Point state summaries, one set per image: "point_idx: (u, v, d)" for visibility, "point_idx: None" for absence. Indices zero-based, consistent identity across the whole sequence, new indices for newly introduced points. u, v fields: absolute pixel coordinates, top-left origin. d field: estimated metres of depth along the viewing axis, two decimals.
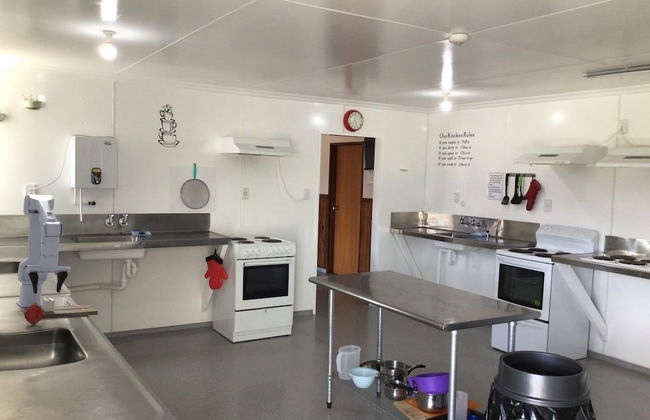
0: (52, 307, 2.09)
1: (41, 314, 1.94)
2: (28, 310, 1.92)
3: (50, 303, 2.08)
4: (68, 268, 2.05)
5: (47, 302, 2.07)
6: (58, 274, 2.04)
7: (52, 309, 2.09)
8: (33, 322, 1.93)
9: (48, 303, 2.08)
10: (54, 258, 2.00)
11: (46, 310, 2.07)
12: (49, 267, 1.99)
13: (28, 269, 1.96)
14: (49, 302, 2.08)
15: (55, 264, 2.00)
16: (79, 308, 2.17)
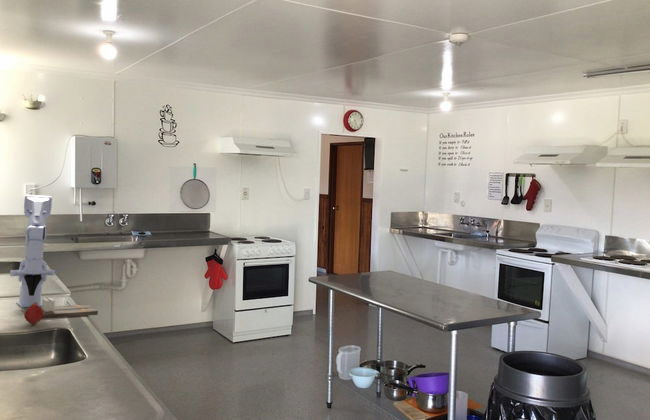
0: (52, 307, 2.09)
1: (41, 314, 1.94)
2: (28, 310, 1.92)
3: (50, 303, 2.08)
4: (52, 271, 2.09)
5: (47, 302, 2.07)
6: (32, 277, 2.06)
7: (52, 309, 2.09)
8: (33, 322, 1.93)
9: (48, 303, 2.08)
10: (38, 261, 2.04)
11: (46, 310, 2.07)
12: (33, 270, 2.03)
13: (12, 272, 2.00)
14: (49, 302, 2.08)
15: (39, 267, 2.05)
16: (79, 308, 2.17)
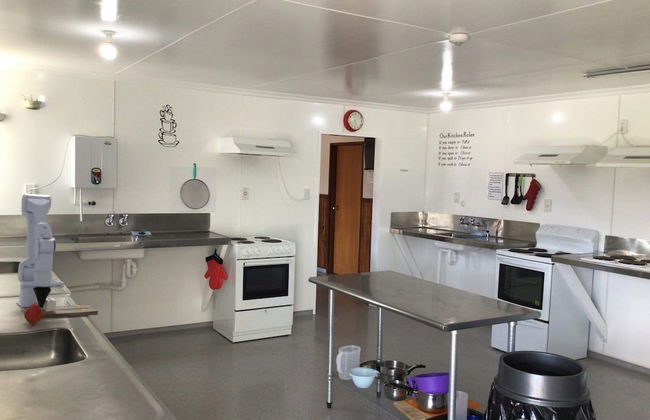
0: (53, 307, 2.09)
1: (41, 314, 1.94)
2: (28, 310, 1.92)
3: (51, 303, 2.08)
4: (61, 283, 2.11)
5: (48, 302, 2.08)
6: (41, 289, 2.09)
7: (53, 309, 2.09)
8: (33, 322, 1.93)
9: (49, 303, 2.08)
10: (48, 274, 2.07)
11: (47, 310, 2.08)
12: (43, 282, 2.06)
13: (22, 285, 2.03)
14: (50, 302, 2.08)
15: (49, 279, 2.07)
16: (79, 308, 2.17)
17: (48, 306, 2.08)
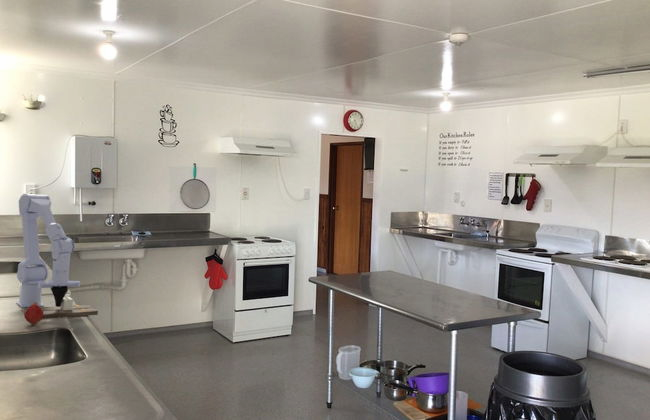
0: (70, 306, 2.13)
1: (41, 314, 1.94)
2: (28, 310, 1.92)
3: (68, 302, 2.12)
4: (78, 283, 2.15)
5: (66, 301, 2.12)
6: None
7: (70, 308, 2.13)
8: (33, 322, 1.93)
9: (66, 302, 2.12)
10: (65, 273, 2.10)
11: (65, 309, 2.12)
12: (60, 282, 2.10)
13: (40, 284, 2.07)
14: (67, 301, 2.12)
15: (66, 279, 2.11)
16: (79, 308, 2.17)
17: (65, 305, 2.12)
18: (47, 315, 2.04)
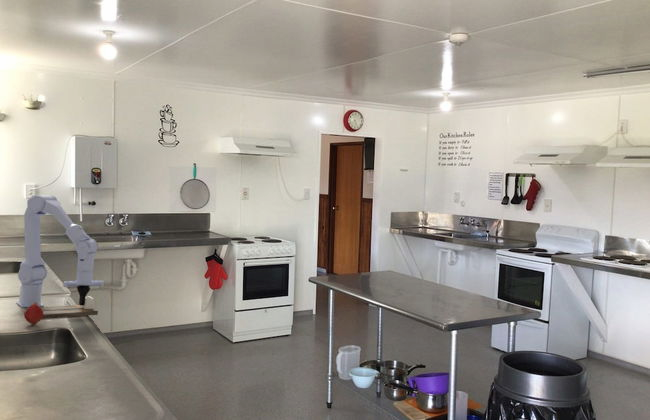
0: (91, 305, 2.18)
1: (41, 314, 1.94)
2: (28, 310, 1.92)
3: (90, 301, 2.17)
4: (101, 282, 2.21)
5: (87, 300, 2.17)
6: None
7: (91, 307, 2.18)
8: (33, 322, 1.93)
9: (88, 301, 2.17)
10: (89, 273, 2.16)
11: (86, 308, 2.17)
12: (85, 281, 2.15)
13: (66, 283, 2.13)
14: (89, 300, 2.17)
15: (90, 278, 2.17)
16: (79, 308, 2.17)
17: (87, 304, 2.17)
18: (47, 315, 2.04)
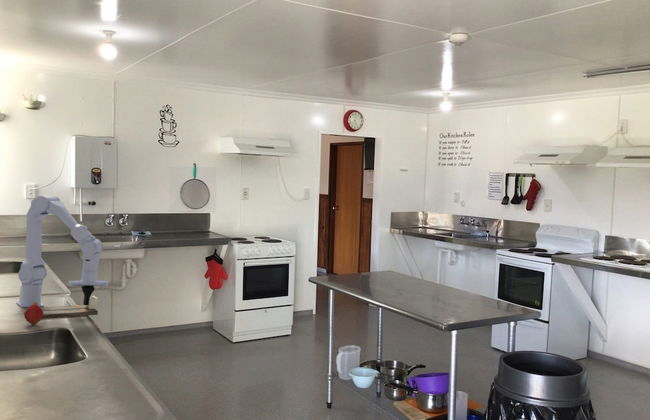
0: (95, 305, 2.19)
1: (41, 314, 1.94)
2: (28, 310, 1.92)
3: (94, 301, 2.18)
4: (106, 282, 2.22)
5: (91, 300, 2.18)
6: None
7: (96, 306, 2.19)
8: (33, 322, 1.93)
9: (92, 301, 2.18)
10: (94, 273, 2.17)
11: (90, 307, 2.18)
12: (90, 281, 2.16)
13: (71, 283, 2.14)
14: (93, 300, 2.18)
15: (95, 278, 2.18)
16: (79, 308, 2.17)
17: (91, 304, 2.18)
18: (47, 315, 2.04)
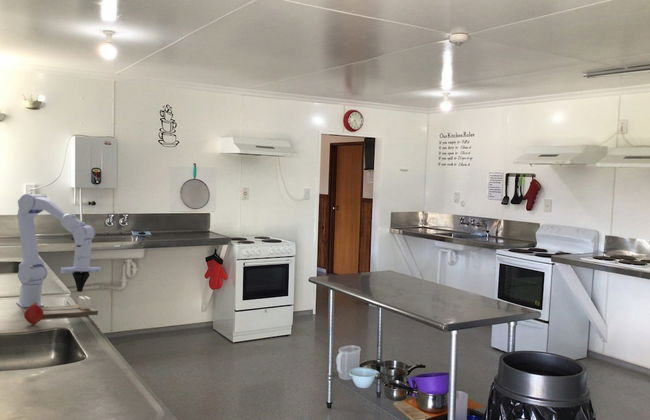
0: (88, 305, 2.17)
1: (41, 314, 1.94)
2: (28, 310, 1.92)
3: (86, 301, 2.17)
4: (99, 268, 2.20)
5: (84, 300, 2.16)
6: (80, 274, 2.17)
7: (88, 307, 2.17)
8: (33, 322, 1.93)
9: (84, 301, 2.16)
10: (86, 259, 2.15)
11: (83, 308, 2.16)
12: (82, 267, 2.14)
13: (63, 269, 2.11)
14: (85, 300, 2.16)
15: (87, 265, 2.16)
16: (79, 308, 2.17)
17: (83, 304, 2.16)
18: (47, 315, 2.04)
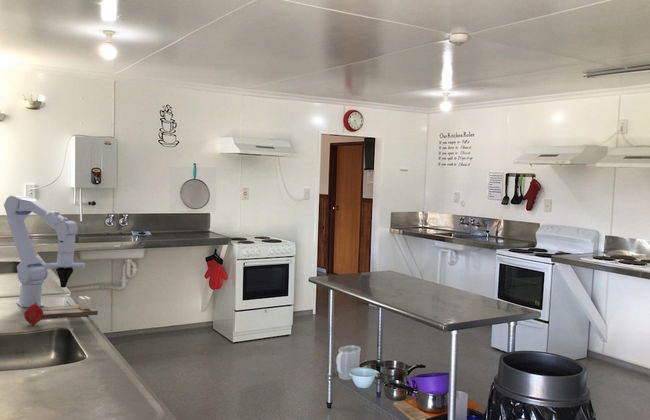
0: (88, 305, 2.17)
1: (41, 314, 1.94)
2: (28, 310, 1.92)
3: (86, 301, 2.17)
4: (83, 264, 2.20)
5: (84, 300, 2.16)
6: None
7: (88, 307, 2.17)
8: (33, 322, 1.93)
9: (84, 301, 2.16)
10: (70, 255, 2.15)
11: (83, 308, 2.16)
12: (65, 263, 2.14)
13: (46, 265, 2.11)
14: (85, 300, 2.16)
15: (71, 260, 2.16)
16: (79, 308, 2.17)
17: (83, 304, 2.16)
18: (47, 315, 2.04)
